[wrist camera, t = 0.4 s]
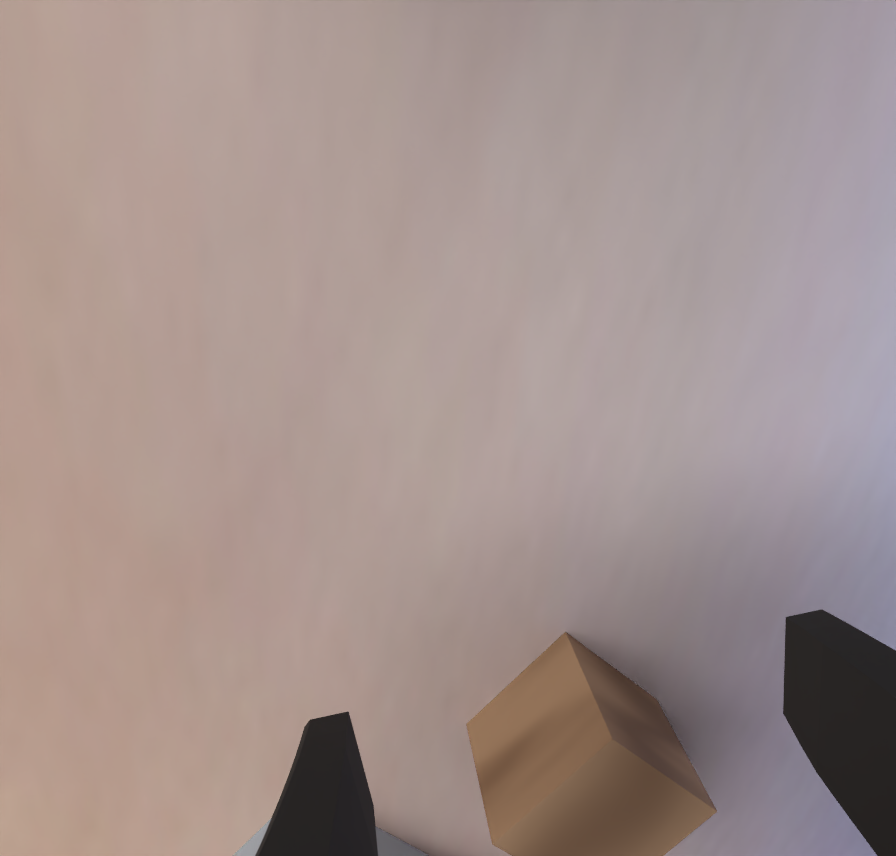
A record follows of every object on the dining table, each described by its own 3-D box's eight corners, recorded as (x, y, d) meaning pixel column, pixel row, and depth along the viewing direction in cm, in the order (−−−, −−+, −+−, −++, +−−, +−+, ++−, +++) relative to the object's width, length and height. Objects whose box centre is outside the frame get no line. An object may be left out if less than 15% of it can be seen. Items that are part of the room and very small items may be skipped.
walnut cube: (655, 697, 26) (717, 811, 22) (559, 781, 27) (601, 906, 23) (564, 630, 24) (612, 739, 20) (466, 722, 25) (492, 844, 21)
